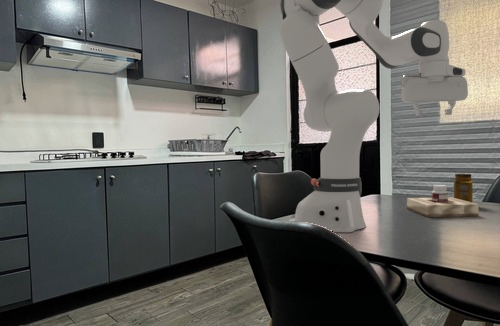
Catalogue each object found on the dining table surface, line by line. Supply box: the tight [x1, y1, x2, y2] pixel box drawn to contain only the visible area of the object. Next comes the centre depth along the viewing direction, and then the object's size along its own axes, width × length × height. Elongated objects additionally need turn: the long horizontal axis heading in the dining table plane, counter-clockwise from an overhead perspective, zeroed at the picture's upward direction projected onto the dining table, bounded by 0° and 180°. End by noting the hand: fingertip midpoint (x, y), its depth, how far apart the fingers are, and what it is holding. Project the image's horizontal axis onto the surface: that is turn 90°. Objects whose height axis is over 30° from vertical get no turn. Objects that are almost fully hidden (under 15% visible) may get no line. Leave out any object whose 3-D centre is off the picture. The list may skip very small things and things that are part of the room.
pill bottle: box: [431, 184, 449, 203], centre depth 119 cm, size 5×5×8 cm
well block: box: [406, 196, 480, 218], centre depth 119 cm, size 16×16×4 cm
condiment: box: [453, 173, 474, 203], centre depth 131 cm, size 7×8×12 cm
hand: (433, 115), depth 114 cm, fingers open, 8 cm apart
